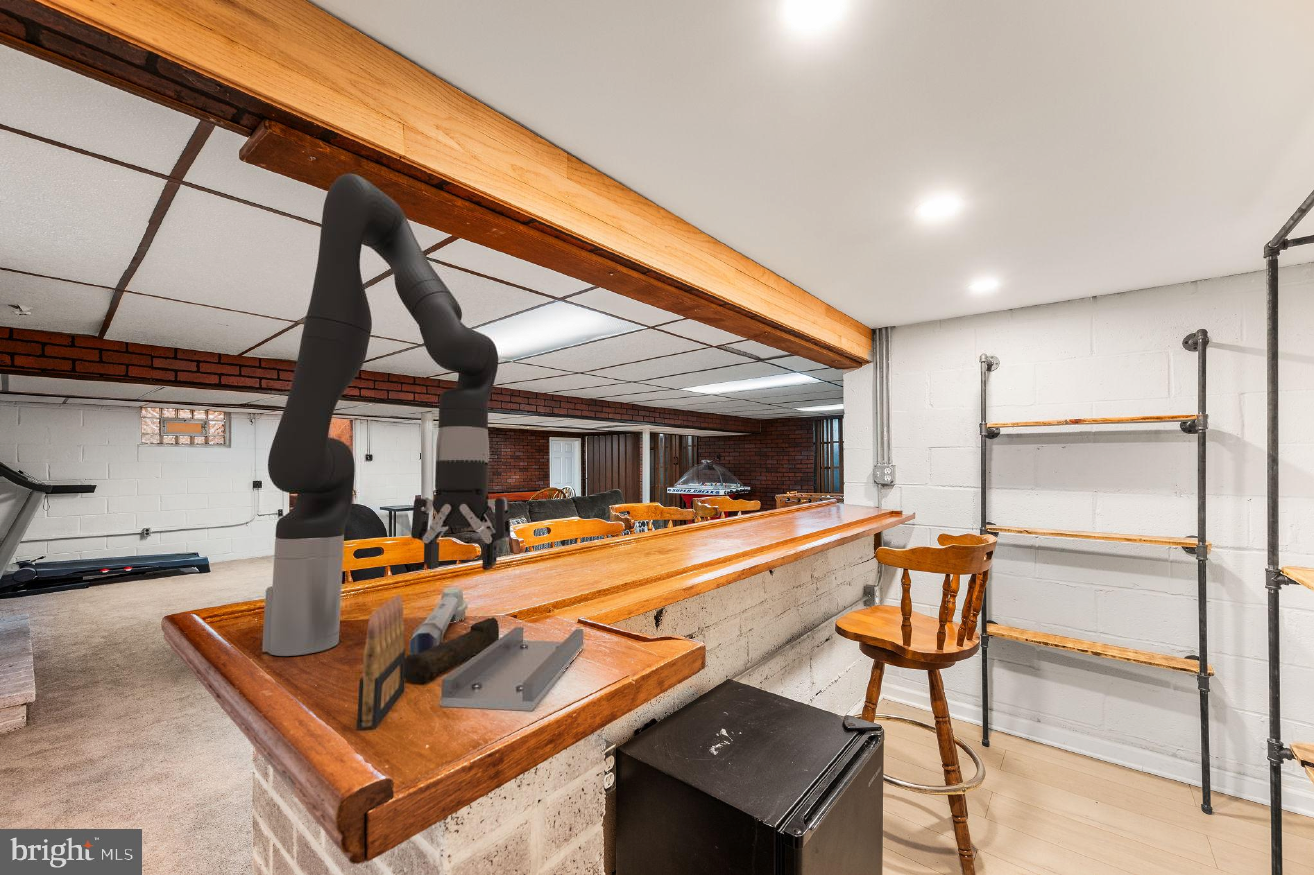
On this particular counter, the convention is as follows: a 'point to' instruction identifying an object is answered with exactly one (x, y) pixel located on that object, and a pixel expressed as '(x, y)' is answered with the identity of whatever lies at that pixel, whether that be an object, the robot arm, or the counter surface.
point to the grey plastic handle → (438, 621)
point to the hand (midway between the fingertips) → (460, 568)
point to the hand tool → (451, 652)
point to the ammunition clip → (382, 665)
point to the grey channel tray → (510, 673)
